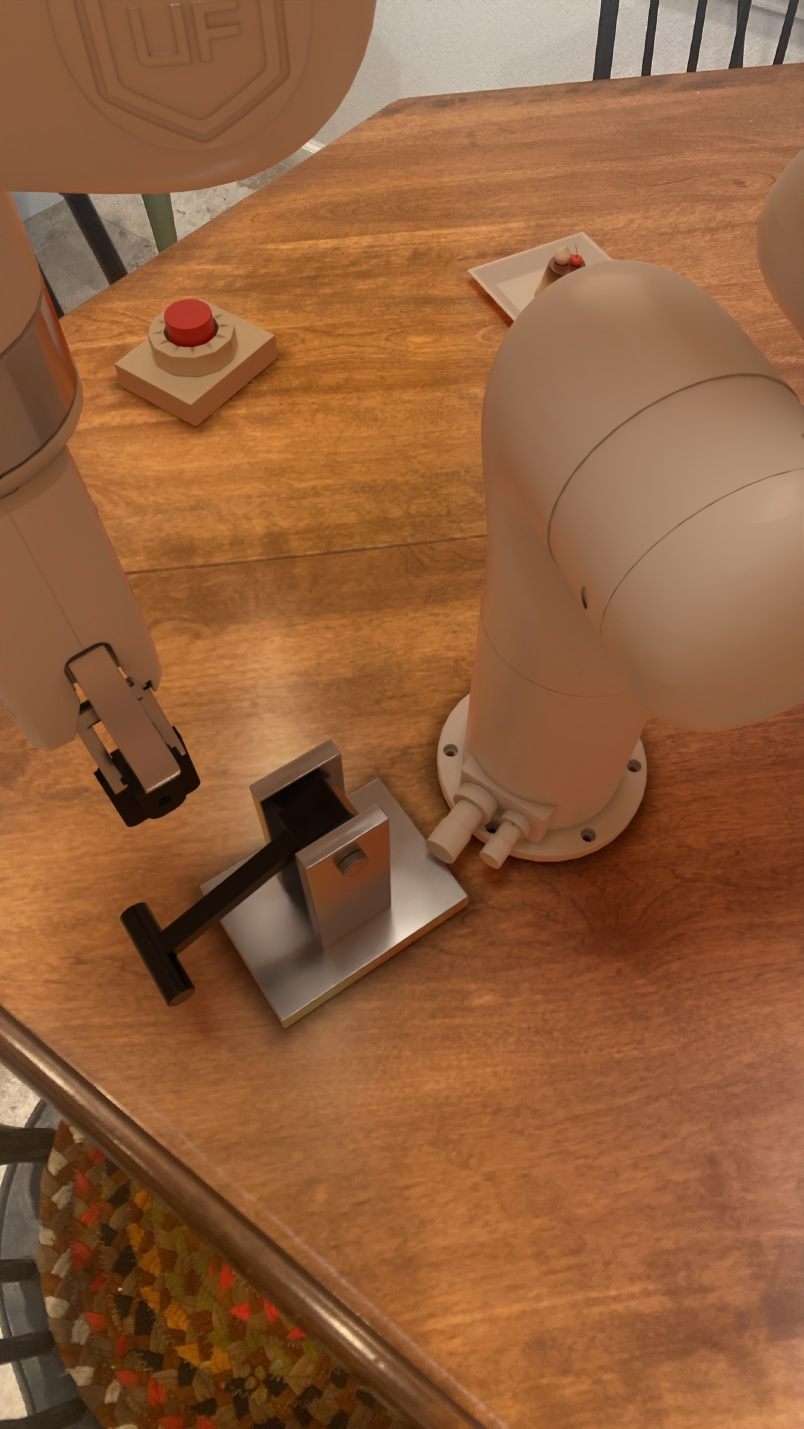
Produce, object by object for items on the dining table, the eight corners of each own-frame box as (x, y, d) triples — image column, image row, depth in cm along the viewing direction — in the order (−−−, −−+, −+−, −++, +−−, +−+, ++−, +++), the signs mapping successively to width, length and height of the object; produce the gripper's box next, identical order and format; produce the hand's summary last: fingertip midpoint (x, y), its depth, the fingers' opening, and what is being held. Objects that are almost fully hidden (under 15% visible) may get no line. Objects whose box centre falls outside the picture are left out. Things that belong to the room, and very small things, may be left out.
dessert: (660, 317, 80) (674, 265, 76) (540, 362, 77) (547, 310, 73) (580, 242, 85) (590, 189, 81) (466, 281, 83) (469, 228, 78)
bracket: (284, 1029, 50) (252, 958, 39) (203, 895, 54) (152, 795, 43) (467, 905, 53) (485, 808, 42) (379, 787, 57) (374, 670, 46)
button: (193, 354, 72) (189, 335, 71) (158, 337, 73) (153, 317, 72) (224, 329, 74) (221, 310, 72) (190, 312, 75) (185, 292, 73)
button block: (195, 427, 73) (185, 385, 70) (120, 386, 76) (107, 343, 72) (278, 357, 77) (272, 314, 74) (204, 320, 80) (195, 277, 76)
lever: (183, 1008, 44) (156, 1007, 42) (135, 923, 47) (107, 917, 44) (382, 845, 44) (365, 835, 42) (325, 767, 46) (306, 753, 44)
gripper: (-327, 258, 27) (-63, 621, 41) (-101, 674, 19) (121, 935, 34) (-71, 167, 29) (93, 543, 43) (217, 510, 22) (297, 822, 36)
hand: (105, 715), depth 39 cm, fingers open, 9 cm apart
